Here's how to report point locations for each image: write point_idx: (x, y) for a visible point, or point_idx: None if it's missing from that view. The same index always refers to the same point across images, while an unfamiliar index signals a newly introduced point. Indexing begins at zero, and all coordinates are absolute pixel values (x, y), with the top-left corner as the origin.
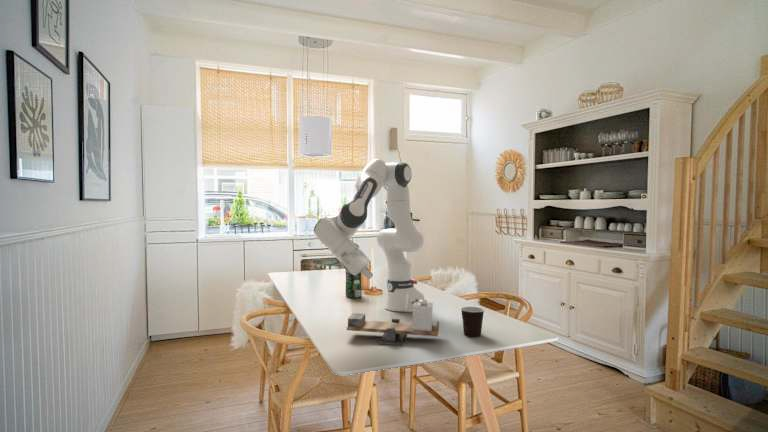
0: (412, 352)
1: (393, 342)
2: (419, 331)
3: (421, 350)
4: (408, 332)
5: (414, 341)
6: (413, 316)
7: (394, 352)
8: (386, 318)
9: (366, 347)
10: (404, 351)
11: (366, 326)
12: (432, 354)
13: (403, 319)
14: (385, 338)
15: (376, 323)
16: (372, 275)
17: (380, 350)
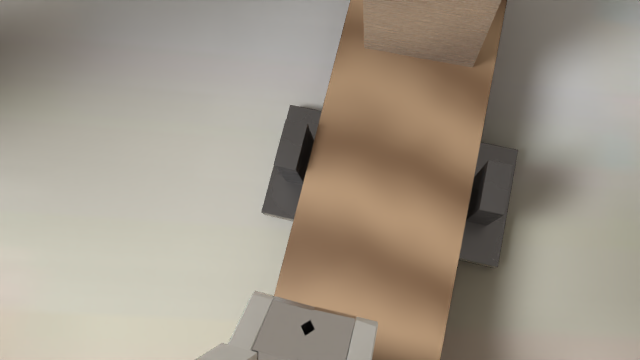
0: (613, 108)
1: (510, 190)
2: (493, 32)
3: (582, 64)
4: (488, 93)
5: None
6: (491, 19)
7: (618, 196)
8: (17, 197)
9: (543, 343)
10: (600, 145)
11: (400, 343)
12: (637, 21)
13: (55, 103)
14: None
15: (331, 272)
16: (311, 307)
17: (590, 267)
